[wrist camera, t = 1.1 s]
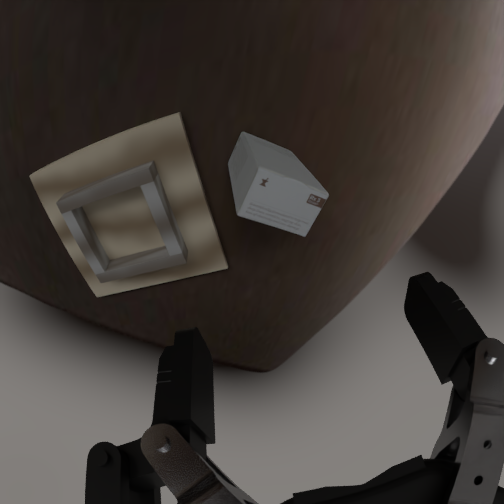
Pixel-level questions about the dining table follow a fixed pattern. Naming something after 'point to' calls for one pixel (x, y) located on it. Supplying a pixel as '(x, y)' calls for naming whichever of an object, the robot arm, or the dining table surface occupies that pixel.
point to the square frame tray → (133, 209)
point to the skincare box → (274, 186)
